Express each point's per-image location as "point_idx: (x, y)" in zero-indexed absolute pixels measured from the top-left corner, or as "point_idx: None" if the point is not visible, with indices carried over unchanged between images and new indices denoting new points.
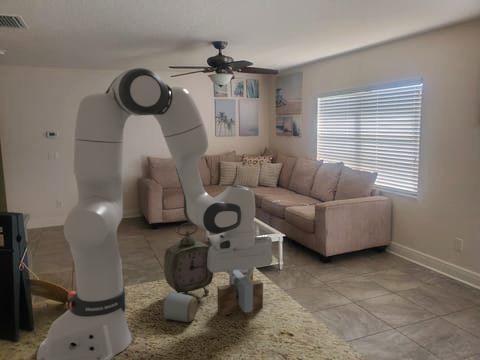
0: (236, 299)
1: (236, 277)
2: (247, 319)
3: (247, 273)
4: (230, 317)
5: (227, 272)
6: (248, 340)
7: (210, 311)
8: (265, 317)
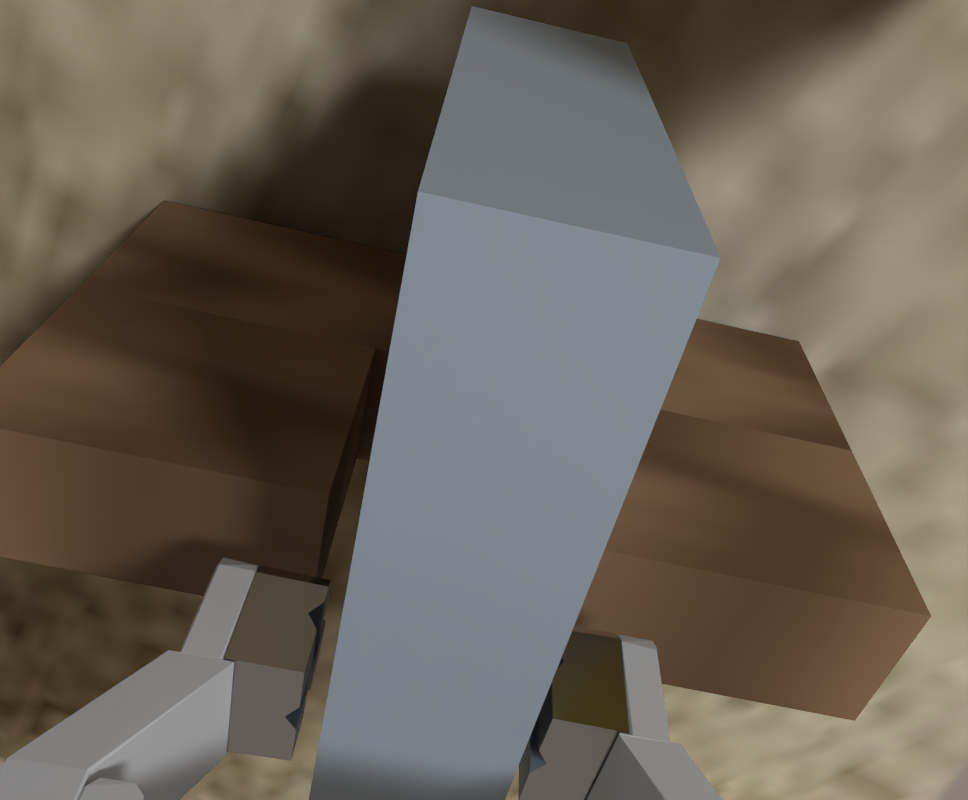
0: (363, 457)
1: (328, 695)
2: None
3: (624, 792)
4: None
5: (28, 769)
6: None
7: (62, 150)
8: None
